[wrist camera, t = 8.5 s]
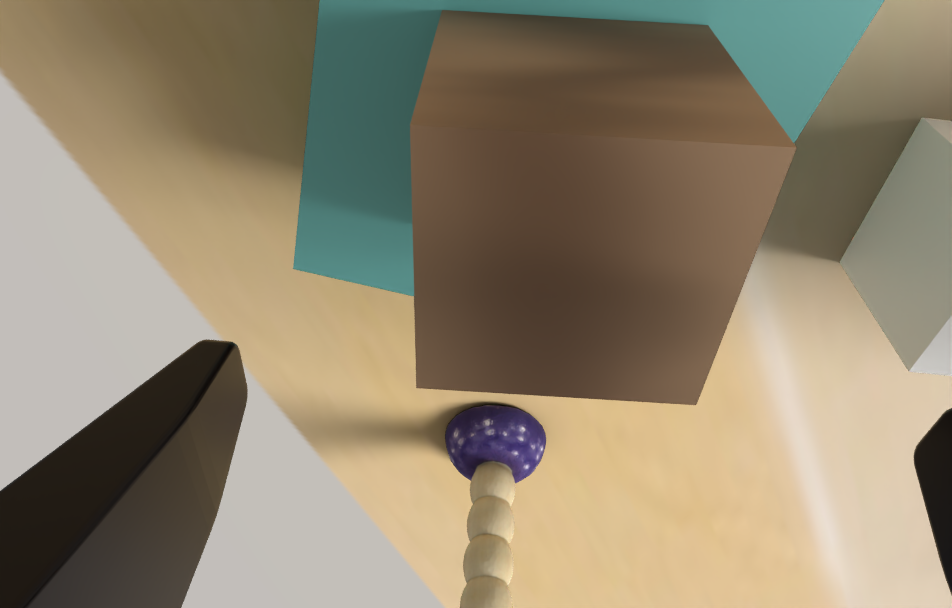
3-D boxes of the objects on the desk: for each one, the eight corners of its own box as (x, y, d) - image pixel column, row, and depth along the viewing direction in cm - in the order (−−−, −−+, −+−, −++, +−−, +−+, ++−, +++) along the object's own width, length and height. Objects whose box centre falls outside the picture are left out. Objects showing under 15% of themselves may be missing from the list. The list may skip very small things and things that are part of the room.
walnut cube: (707, 24, 12) (796, 147, 8) (650, 244, 15) (696, 405, 12) (441, 10, 12) (409, 125, 8) (440, 231, 15) (416, 387, 12)
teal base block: (810, -91, 15) (908, -39, 11) (635, 246, 22) (661, 352, 18) (388, -231, 14) (341, -226, 10) (334, 171, 20) (293, 269, 16)
